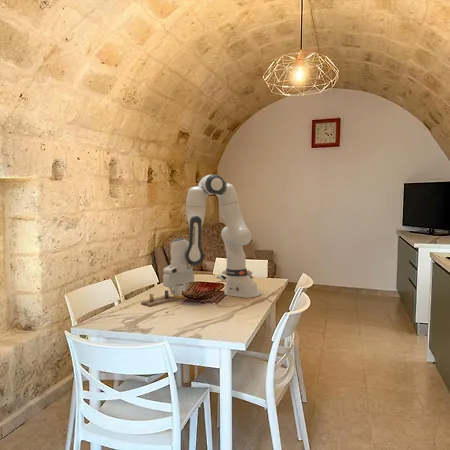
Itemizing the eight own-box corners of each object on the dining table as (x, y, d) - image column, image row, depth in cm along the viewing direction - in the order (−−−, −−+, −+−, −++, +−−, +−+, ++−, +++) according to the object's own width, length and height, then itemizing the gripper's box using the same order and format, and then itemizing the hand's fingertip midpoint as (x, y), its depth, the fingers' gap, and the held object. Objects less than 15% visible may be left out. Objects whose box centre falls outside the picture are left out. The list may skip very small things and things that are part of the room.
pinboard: (177, 299, 219) (176, 290, 219) (150, 306, 206) (149, 296, 206) (168, 297, 225) (167, 288, 225) (141, 304, 212) (140, 294, 212)
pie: (230, 272, 296) (230, 266, 296) (264, 276, 282) (264, 269, 282) (209, 280, 272) (209, 272, 272) (245, 284, 258) (245, 277, 258)
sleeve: (185, 296, 226) (185, 284, 225) (178, 298, 222) (178, 286, 222) (180, 295, 229) (179, 283, 229) (173, 297, 226) (172, 284, 225)
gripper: (189, 264, 234) (189, 288, 235) (160, 269, 219) (161, 294, 220) (196, 265, 230) (196, 289, 231) (168, 271, 215) (168, 296, 216)
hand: (179, 292), depth 225 cm, fingers open, 8 cm apart
